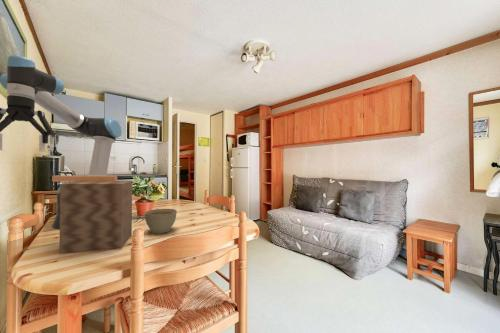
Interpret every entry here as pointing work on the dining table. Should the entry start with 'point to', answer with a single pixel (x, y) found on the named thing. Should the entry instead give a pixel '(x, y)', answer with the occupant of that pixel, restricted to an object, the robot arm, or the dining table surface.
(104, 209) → the walnut stand
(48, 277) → the dining table surface
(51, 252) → the dining table surface
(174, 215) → the planter bowl
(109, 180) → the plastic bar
